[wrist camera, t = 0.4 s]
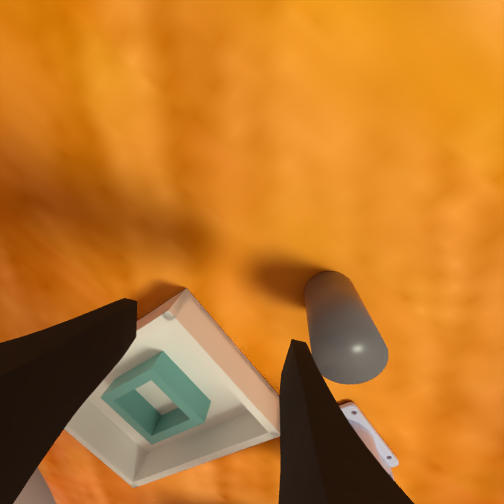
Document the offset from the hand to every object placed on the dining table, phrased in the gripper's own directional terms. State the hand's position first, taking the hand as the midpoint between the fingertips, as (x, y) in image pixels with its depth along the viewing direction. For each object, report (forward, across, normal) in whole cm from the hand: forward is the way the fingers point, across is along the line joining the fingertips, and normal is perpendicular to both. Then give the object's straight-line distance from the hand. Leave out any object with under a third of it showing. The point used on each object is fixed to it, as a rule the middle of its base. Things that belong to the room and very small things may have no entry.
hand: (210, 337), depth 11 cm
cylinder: (+10, -7, +1) cm, 12 cm away
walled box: (+10, +6, +16) cm, 20 cm away
